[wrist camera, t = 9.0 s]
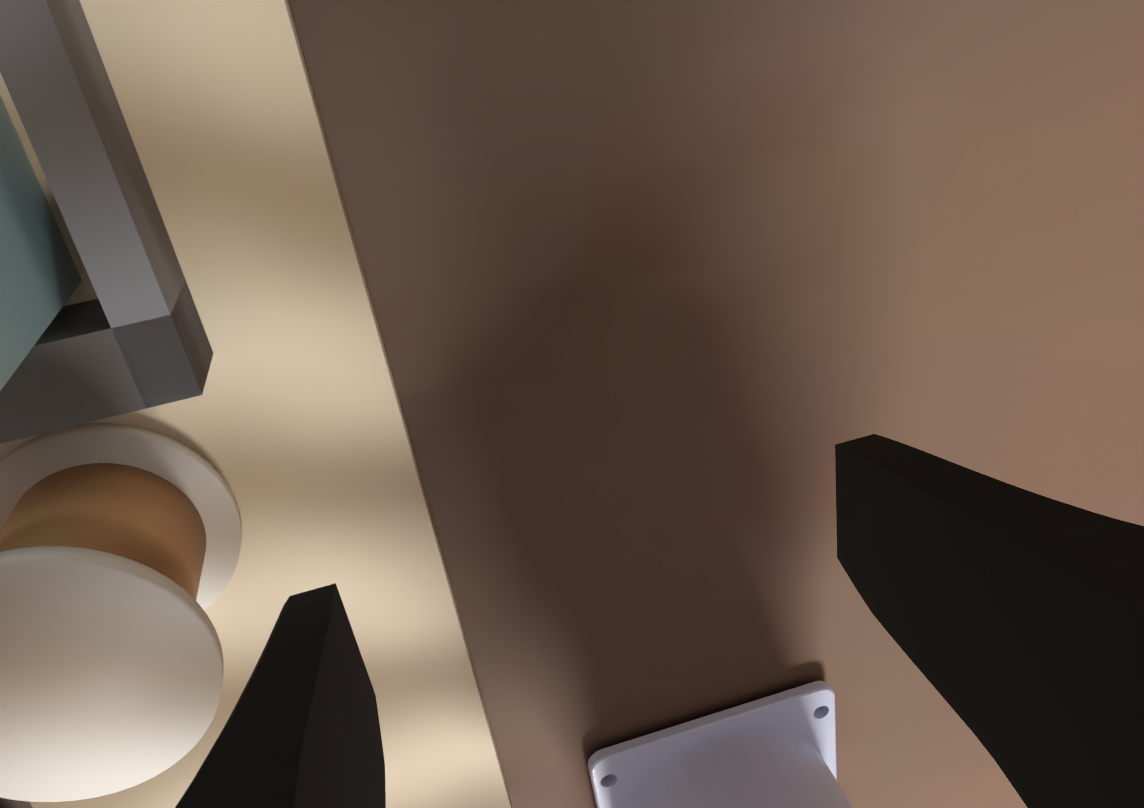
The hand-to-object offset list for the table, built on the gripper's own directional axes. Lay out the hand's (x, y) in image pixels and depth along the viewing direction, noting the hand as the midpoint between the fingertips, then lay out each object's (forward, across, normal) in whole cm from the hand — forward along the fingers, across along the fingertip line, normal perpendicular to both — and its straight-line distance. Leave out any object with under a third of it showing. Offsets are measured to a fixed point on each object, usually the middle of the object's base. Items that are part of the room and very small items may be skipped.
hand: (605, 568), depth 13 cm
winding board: (+9, +8, +2) cm, 13 cm away
